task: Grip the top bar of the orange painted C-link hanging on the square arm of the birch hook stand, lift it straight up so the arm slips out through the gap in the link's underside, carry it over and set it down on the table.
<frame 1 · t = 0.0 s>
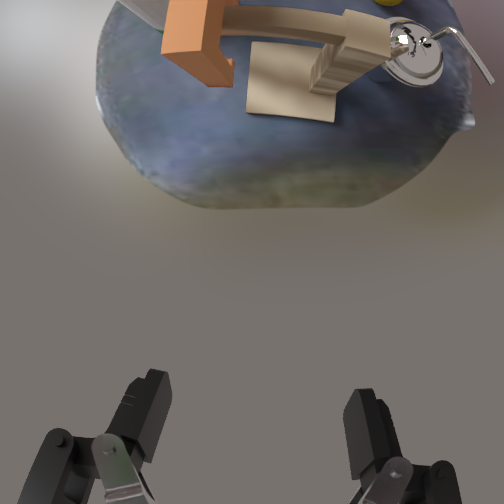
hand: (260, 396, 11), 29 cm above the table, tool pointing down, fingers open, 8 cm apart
wine bottle: (182, 16, 27), on the table
hook stand: (296, 81, 30), on the table
c link: (224, 45, 18), point 13 cm above the table, touching hook stand
cup with straw: (378, 70, 29), on the table
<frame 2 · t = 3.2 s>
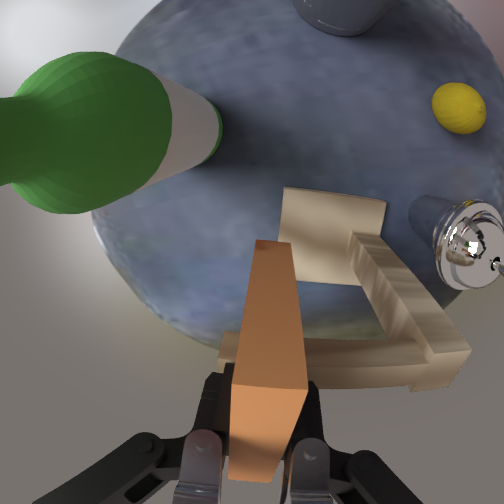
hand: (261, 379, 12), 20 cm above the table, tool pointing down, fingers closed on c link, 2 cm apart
wine bottle: (189, 130, 27), on the table
hook stand: (332, 237, 30), on the table
lemon: (438, 109, 23), on the table
c link: (266, 299, 18), point 13 cm above the table, touching gripper, hook stand
cup with straw: (423, 215, 28), on the table
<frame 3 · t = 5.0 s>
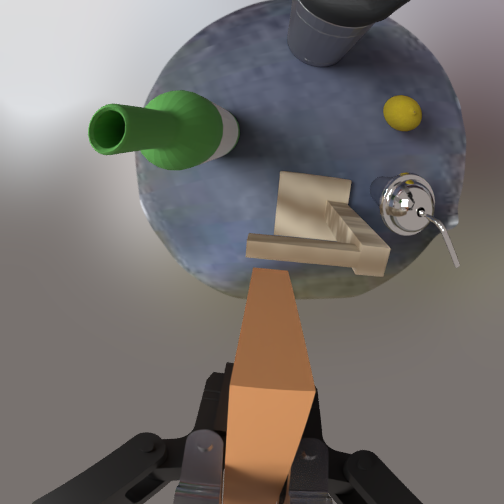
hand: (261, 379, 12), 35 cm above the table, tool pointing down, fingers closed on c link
wine bottle: (216, 132, 40), on the table
hook stand: (314, 206, 43), on the table
lemon: (391, 114, 36), on the table
c link: (263, 330, 17), point 29 cm above the table, tilted 11°, touching gripper
cup with straw: (381, 191, 41), on the table
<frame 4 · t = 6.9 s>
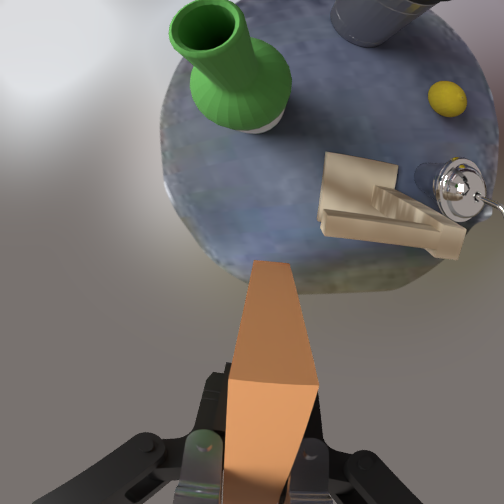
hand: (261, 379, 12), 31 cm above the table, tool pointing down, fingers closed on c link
wine bottle: (255, 107, 35), on the table
hook stand: (360, 191, 38), on the table
lemon: (433, 100, 31), on the table
c link: (264, 324, 17), point 26 cm above the table, tilted 10°, touching gripper
cup with straw: (425, 178, 36), on the table
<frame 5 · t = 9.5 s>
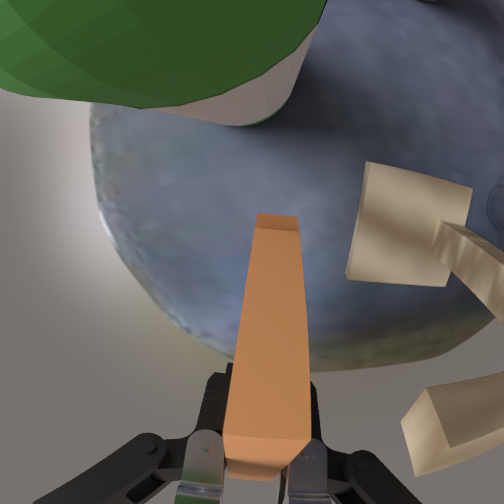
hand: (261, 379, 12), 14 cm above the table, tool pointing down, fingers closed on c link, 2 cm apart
wine bottle: (242, 81, 19), on the table
hook stand: (415, 228, 22), on the table
c link: (270, 277, 16), point 8 cm above the table, tilted 11°, touching gripper
cup with straw: (498, 206, 20), on the table
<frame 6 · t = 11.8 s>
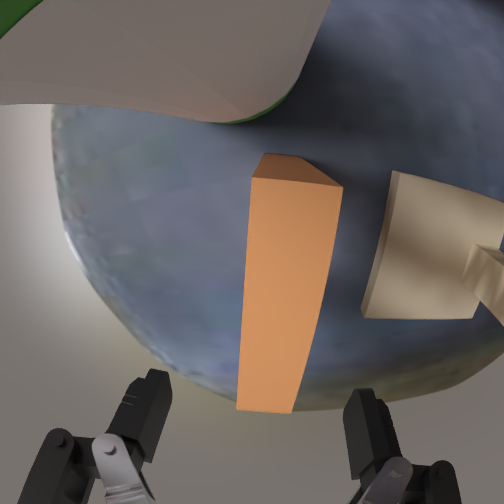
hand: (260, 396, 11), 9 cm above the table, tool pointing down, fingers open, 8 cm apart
wine bottle: (232, 65, 14), on the table
hook stand: (445, 253, 17), on the table
c link: (275, 219, 17), on the table
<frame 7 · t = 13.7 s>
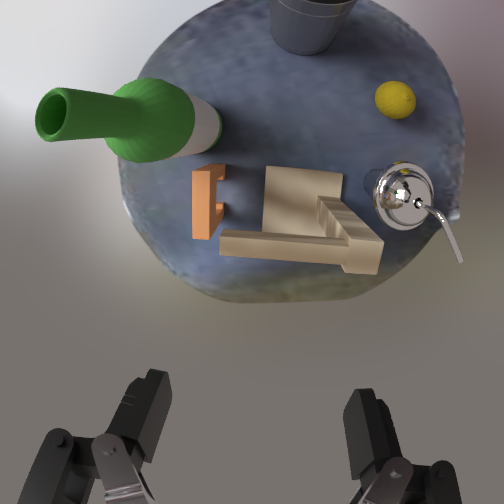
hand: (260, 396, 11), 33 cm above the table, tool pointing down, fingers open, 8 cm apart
wine bottle: (198, 127, 38), on the table
hook stand: (304, 202, 41), on the table
lemon: (383, 103, 34), on the table
c link: (217, 190, 41), on the table
cup with straw: (376, 184, 39), on the table
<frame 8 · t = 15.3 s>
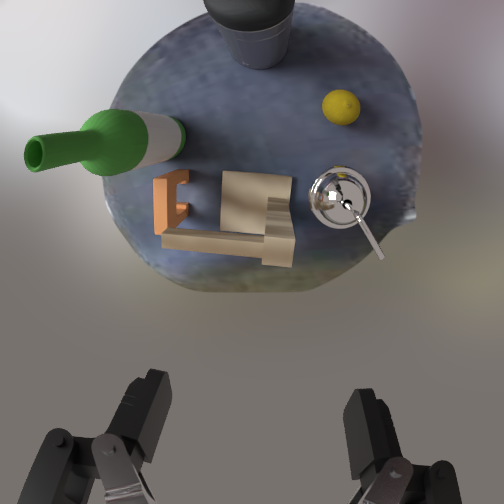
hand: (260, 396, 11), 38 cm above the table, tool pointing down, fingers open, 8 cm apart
wine bottle: (166, 138, 43), on the table
hook stand: (258, 202, 46), on the table
lemon: (335, 110, 39), on the table
c link: (183, 192, 46), on the table
cup with straw: (326, 186, 44), on the table
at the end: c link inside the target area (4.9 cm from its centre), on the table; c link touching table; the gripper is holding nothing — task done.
